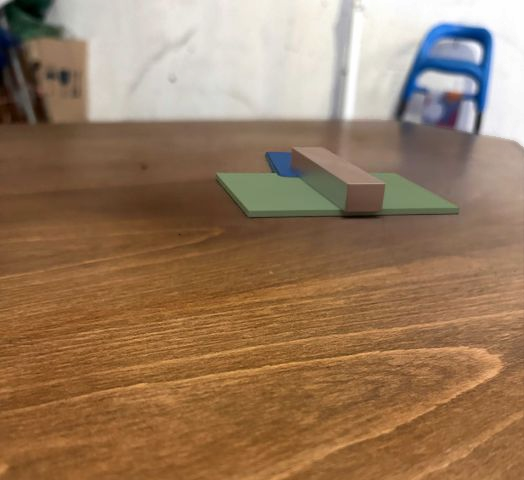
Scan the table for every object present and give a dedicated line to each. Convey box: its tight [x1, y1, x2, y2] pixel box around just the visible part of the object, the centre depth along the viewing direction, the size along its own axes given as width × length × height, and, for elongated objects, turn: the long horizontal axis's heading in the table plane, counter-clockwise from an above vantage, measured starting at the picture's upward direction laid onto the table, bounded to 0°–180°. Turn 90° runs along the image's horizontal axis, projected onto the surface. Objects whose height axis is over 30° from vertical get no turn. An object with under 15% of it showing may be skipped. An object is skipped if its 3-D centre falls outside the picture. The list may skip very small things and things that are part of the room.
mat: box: [215, 172, 460, 218], centre depth 65 cm, size 20×14×1 cm
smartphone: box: [264, 151, 299, 178], centre depth 75 cm, size 7×1×15 cm
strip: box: [290, 146, 386, 212], centre depth 64 cm, size 16×4×2 cm, turn 15°
